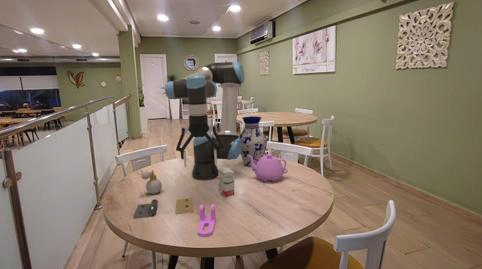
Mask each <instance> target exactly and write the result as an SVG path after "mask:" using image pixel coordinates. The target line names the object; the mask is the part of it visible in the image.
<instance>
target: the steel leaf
mask: <svg viewBox="0 0 482 269" xmlns="http://www.w3.org/2000/svg"><path fill="white" fill-rule="evenodd" d="M158 205H159V200H158V199H152V200H151V203H144V204H143V203H142V204H138V205H137V207H136V209H135V212H134V213H133V216H132V217H133V219H140V218H141V219H142V218H151V217H153V216H155V214H156V211H157V208H158Z"/></svg>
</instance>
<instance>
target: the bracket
mask: <svg viewBox="0 0 482 269" xmlns="http://www.w3.org/2000/svg"><path fill="white" fill-rule="evenodd" d="M205 208H206V206H205V204H203V203H202V204H200V205H199V224H198V226H197V236H198V237H201V238H208V237H211V236H212V235H213V234H214V231H215V225H216V219H217V217H216V215H217V214H216V213H217V212H216V204H215V203H213V204H212V203H211V204H210V215H206V210H205ZM205 227H208V228H207V230H204V229H205Z"/></svg>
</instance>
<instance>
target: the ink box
mask: <svg viewBox="0 0 482 269" xmlns="http://www.w3.org/2000/svg"><path fill="white" fill-rule="evenodd" d="M217 168H218V167H217ZM217 178H218V191H219V193H221V194H222V195H223V196H224V197H225V198H226V197H231V196H235V172H234V170H232V169H230V168H229V167H228V166H225V167H219V168H218V177H217Z"/></svg>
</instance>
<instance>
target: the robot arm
mask: <svg viewBox="0 0 482 269" xmlns="http://www.w3.org/2000/svg"><path fill="white" fill-rule="evenodd" d="M245 77H246V75H245V69H244V66H243V64H242V63H241V62H240V61H227V62H226V61H224V62H212V63H209V64H206V65H204V66H201V67H199V68H198V69H197V71H196V72H193V73H191V74H189V75H187V76H185V77H184V78H181V79H179V80H177V81H175V80H171V81H167V82H166V84H165V86H164V91H165V92H164V93H165V95H166V97H167V98H169V99H175V100H176V99H187V111H188V112H187V113H188V127H185V126H182V127H181V134H180V137H179V140H178V142H177V145H176V148H175V151H176V152H180V159H181V160H183V166H184V169H186V168H187V153H186V148H187V147H188V146H189V144H190V143H191V141H192V144H193V146H192V147H193V160H194V161H193V162H194V163H193V167H192V171H191V178H192V179H194V180H197V181H198V180H199V181H209V180H213V179H217V178H219V177H218V160H227V161H229V160H237V159H238V158H239V157H240V156H241V154H240V152H241V147H242V141H241V139H240V138H239V135H240V134H238V133H237V120H238V119H237V118H238V99H239V90H240V88H241V87H242V84H244V83H245ZM216 84H219V85H220V88H222V95H221V96H222V98H221V99H222V100H221V115H220V116H221V118H220V120H221V121H220V131H219V133H217V129H216V125H214V124H213V125H211V126H210V125H209V122H208V104H207V99H211V98H212V97H214V96H215V95H216V94H217V92H218V88H217V85H216ZM209 130H210V131H211V132H212V133H213V134H208V132H209ZM188 131H189V133H190V135H189V136H188V138H187V139H186V141H185V142H184V144H183V145H182V142H183V141H184V138H185V137H184V136H185V134H187V132H188ZM181 145H182V146H181Z"/></svg>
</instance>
